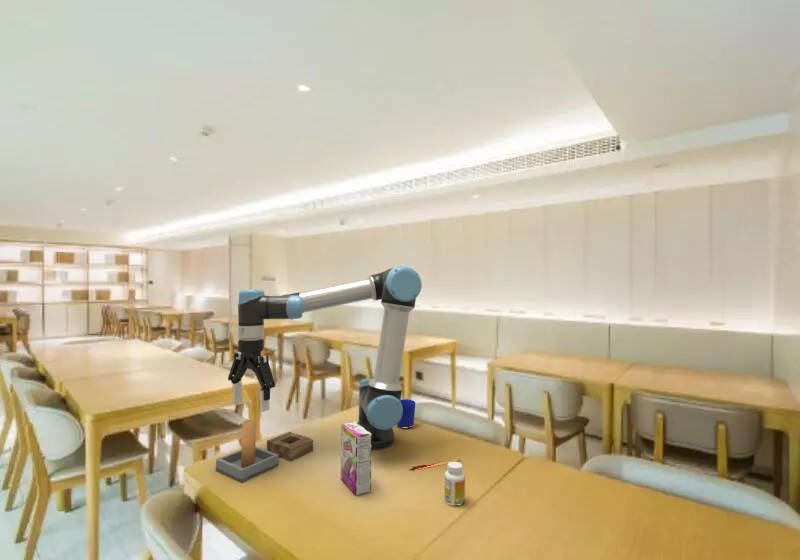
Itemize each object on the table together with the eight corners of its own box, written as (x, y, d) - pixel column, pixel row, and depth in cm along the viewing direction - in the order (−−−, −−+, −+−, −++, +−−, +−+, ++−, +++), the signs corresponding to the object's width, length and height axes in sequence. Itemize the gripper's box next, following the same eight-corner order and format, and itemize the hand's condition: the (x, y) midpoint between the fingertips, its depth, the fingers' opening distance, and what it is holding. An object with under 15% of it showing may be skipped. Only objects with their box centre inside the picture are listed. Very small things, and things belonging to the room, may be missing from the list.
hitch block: (313, 450, 134) (313, 439, 134) (290, 461, 126) (290, 448, 126) (289, 442, 141) (289, 431, 141) (266, 452, 132) (266, 440, 132)
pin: (257, 464, 121) (258, 422, 121) (246, 469, 118) (247, 425, 118) (249, 461, 123) (250, 419, 124) (238, 465, 120) (239, 423, 120)
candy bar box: (339, 479, 115) (340, 423, 115) (354, 475, 117) (356, 420, 118) (355, 497, 105) (356, 436, 105) (371, 492, 108) (372, 432, 108)
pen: (408, 470, 121) (408, 467, 121) (460, 460, 129) (460, 457, 129) (409, 472, 121) (409, 468, 121) (461, 461, 128) (461, 458, 128)
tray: (278, 466, 122) (278, 454, 122) (241, 482, 111) (242, 470, 111) (252, 455, 129) (252, 445, 129) (215, 470, 118) (216, 459, 119)
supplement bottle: (466, 498, 106) (466, 462, 106) (462, 508, 100) (463, 470, 101) (446, 494, 107) (447, 458, 108) (442, 504, 102) (442, 467, 102)
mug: (416, 420, 168) (416, 397, 168) (414, 430, 156) (414, 405, 156) (397, 419, 168) (397, 396, 169) (394, 429, 156) (394, 404, 157)
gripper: (216, 337, 125) (216, 403, 125) (267, 343, 111) (266, 417, 111) (237, 334, 131) (237, 397, 131) (287, 340, 118) (287, 410, 117)
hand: (250, 407), depth 121 cm, fingers open, 13 cm apart
